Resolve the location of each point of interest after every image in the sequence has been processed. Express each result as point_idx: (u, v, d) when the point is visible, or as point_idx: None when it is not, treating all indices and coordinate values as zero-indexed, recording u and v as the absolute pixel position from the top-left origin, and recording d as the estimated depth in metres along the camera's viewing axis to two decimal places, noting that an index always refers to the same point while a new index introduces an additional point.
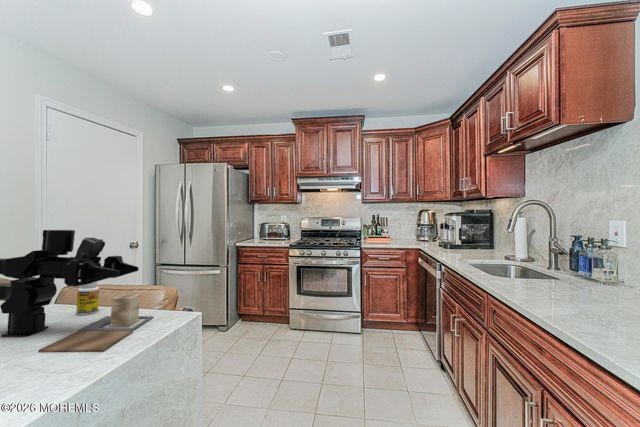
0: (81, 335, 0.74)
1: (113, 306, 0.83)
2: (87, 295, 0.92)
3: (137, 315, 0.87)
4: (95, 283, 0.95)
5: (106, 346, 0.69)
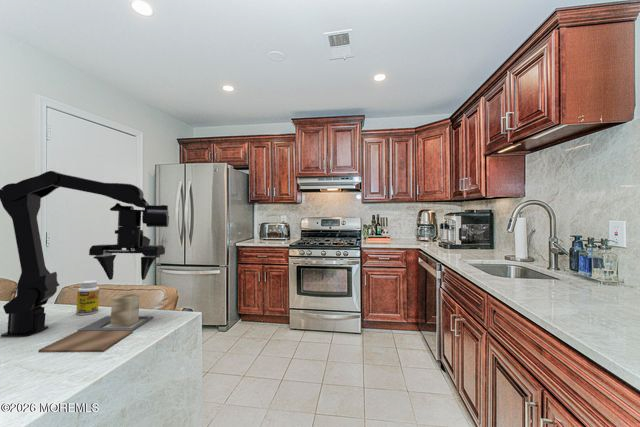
0: (81, 335, 0.74)
1: (113, 306, 0.83)
2: (87, 295, 0.92)
3: (137, 315, 0.87)
4: (95, 283, 0.95)
5: (106, 346, 0.69)
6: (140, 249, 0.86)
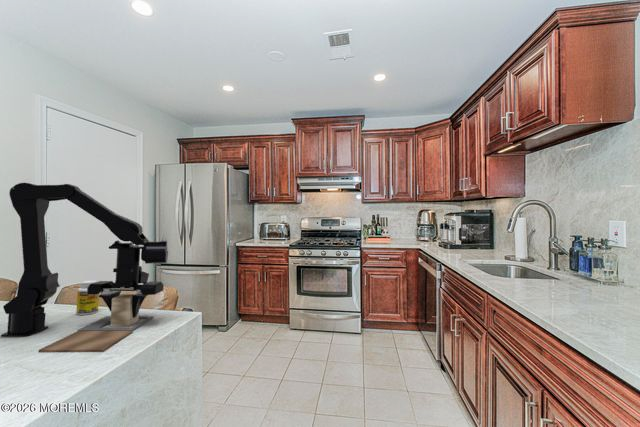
0: (81, 335, 0.74)
1: (113, 306, 0.83)
2: (87, 295, 0.92)
3: (137, 315, 0.87)
4: None
5: (106, 346, 0.69)
6: (138, 287, 0.86)
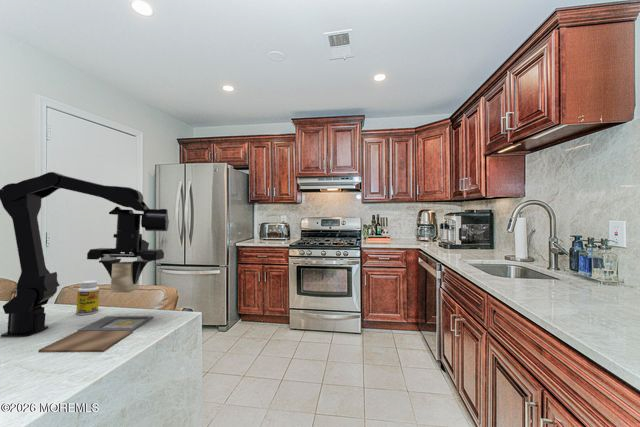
0: (81, 335, 0.74)
1: (113, 272, 0.82)
2: (87, 295, 0.92)
3: (137, 282, 0.87)
4: (95, 283, 0.95)
5: (106, 346, 0.69)
6: (139, 253, 0.85)
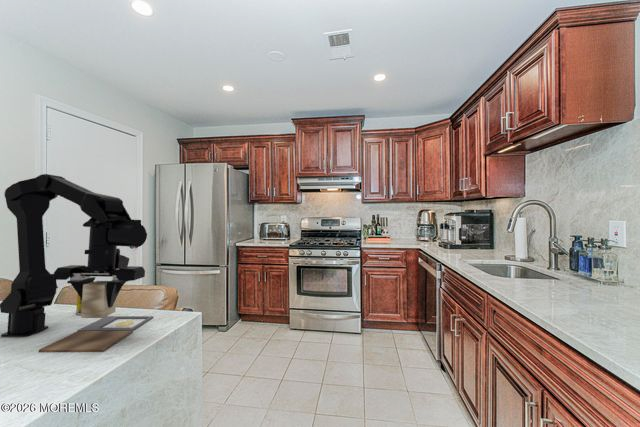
0: (81, 335, 0.74)
1: (84, 294, 0.71)
2: None
3: (114, 305, 0.75)
4: None
5: (106, 346, 0.69)
6: (115, 272, 0.73)
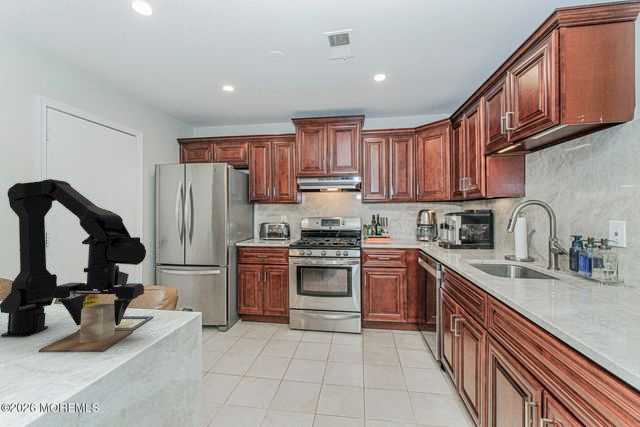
0: None
1: (83, 318, 0.71)
2: (87, 295, 0.92)
3: (113, 328, 0.75)
4: None
5: (106, 346, 0.69)
6: (114, 289, 0.73)
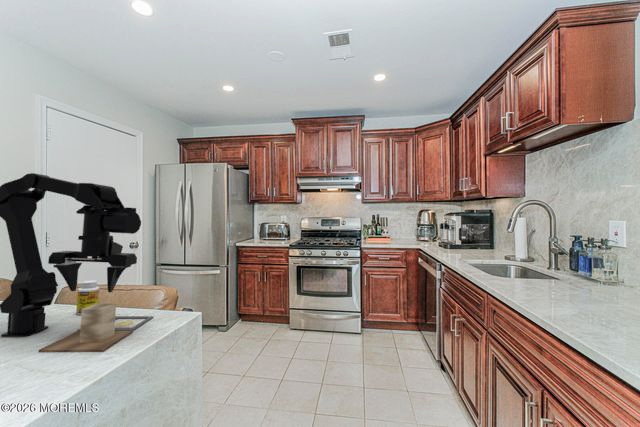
0: None
1: (83, 318, 0.71)
2: (87, 295, 0.92)
3: (113, 328, 0.75)
4: (95, 283, 0.95)
5: (106, 346, 0.69)
6: (108, 258, 0.76)
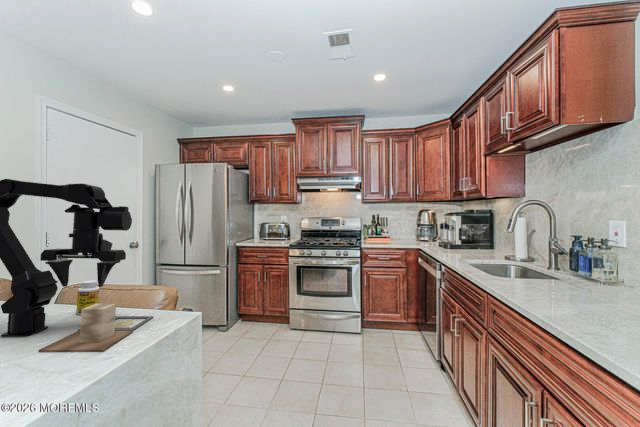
0: None
1: (83, 318, 0.71)
2: (87, 295, 0.92)
3: (113, 328, 0.75)
4: (95, 283, 0.95)
5: (106, 346, 0.69)
6: (97, 254, 0.80)
